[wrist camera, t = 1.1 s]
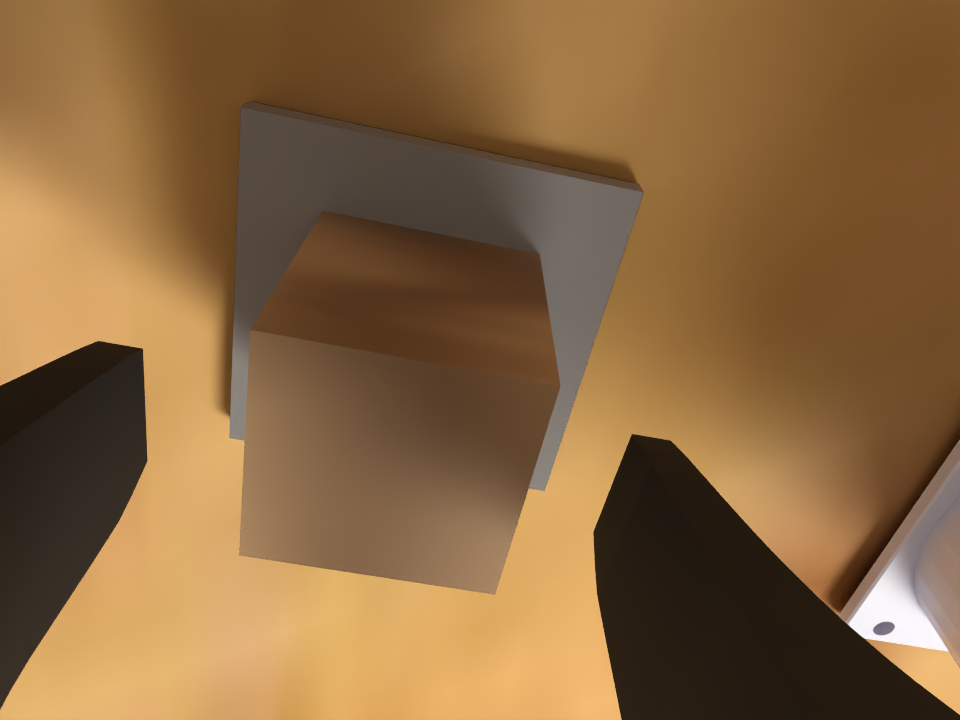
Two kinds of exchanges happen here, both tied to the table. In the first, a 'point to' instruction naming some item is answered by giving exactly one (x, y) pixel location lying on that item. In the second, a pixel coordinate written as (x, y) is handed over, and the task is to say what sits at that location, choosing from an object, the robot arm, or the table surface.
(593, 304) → the rubber pad
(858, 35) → the table surface
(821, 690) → the robot arm
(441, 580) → the walnut block
